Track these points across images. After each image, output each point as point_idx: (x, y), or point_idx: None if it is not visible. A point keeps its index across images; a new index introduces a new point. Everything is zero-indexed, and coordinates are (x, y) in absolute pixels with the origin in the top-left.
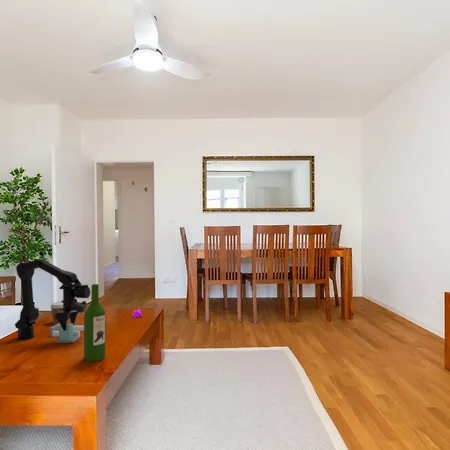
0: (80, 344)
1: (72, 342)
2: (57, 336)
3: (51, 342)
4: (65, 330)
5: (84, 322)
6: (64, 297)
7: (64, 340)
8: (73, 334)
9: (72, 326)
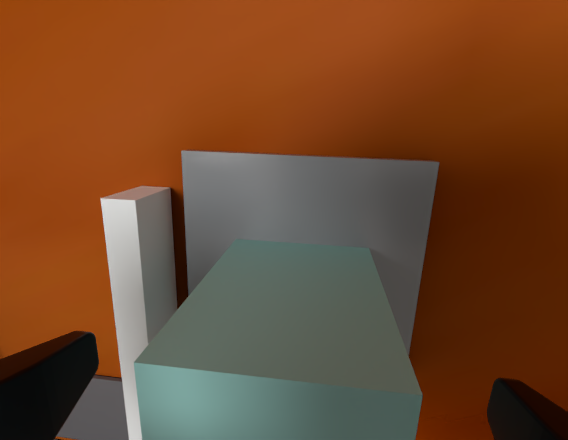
0: (543, 11)
1: (433, 174)
2: None
3: None
4: (521, 383)
5: None
6: None
7: None
8: (162, 263)
9: (204, 327)
